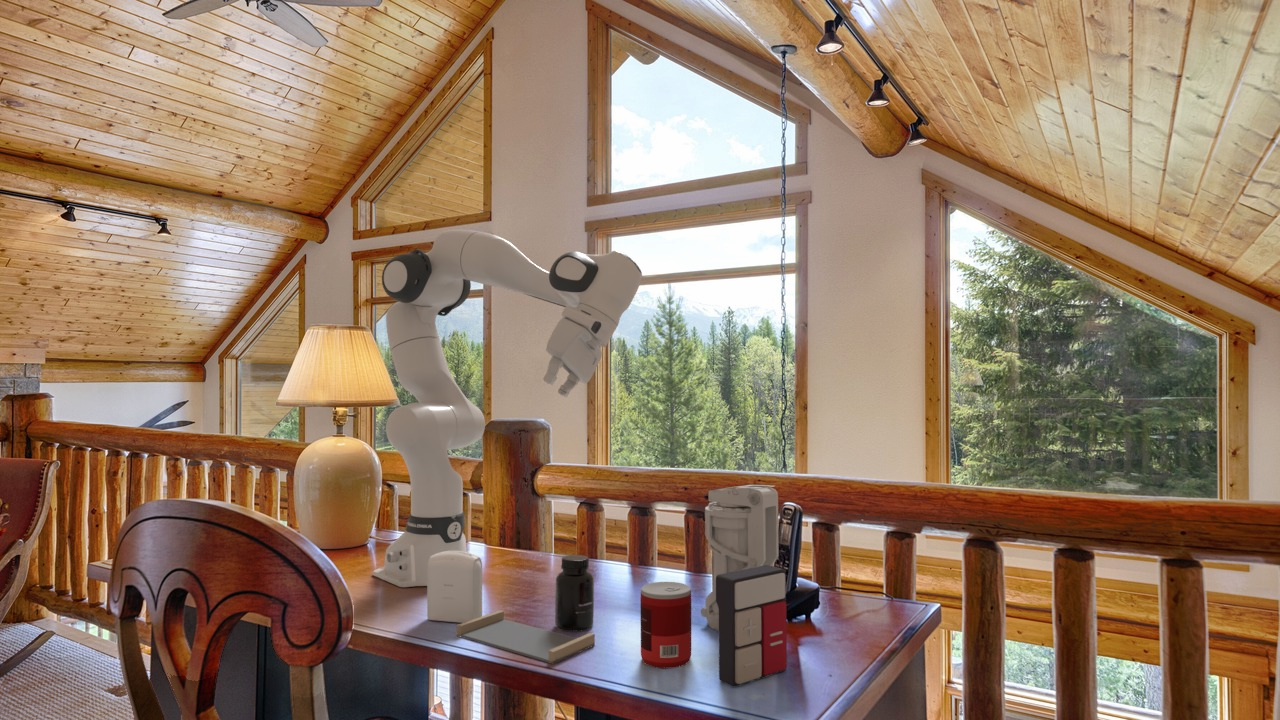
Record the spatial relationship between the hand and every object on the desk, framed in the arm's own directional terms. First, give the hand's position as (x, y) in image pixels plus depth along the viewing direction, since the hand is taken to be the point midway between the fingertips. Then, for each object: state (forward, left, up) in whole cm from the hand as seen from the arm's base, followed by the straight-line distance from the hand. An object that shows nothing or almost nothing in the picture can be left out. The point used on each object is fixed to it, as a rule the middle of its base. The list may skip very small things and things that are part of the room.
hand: (554, 389), depth 140 cm
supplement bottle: (+10, -5, -42) cm, 44 cm away
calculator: (+45, -7, -42) cm, 62 cm away
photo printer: (-10, -15, -42) cm, 46 cm away
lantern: (+33, +12, -42) cm, 55 cm away
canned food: (+31, -9, -42) cm, 53 cm away
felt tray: (+7, -16, -42) cm, 45 cm away
